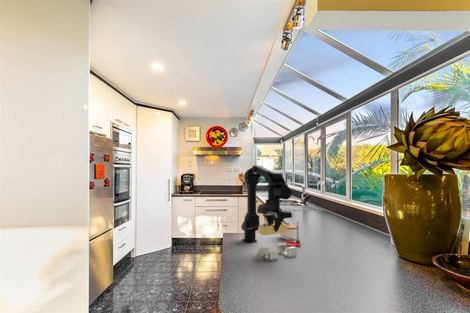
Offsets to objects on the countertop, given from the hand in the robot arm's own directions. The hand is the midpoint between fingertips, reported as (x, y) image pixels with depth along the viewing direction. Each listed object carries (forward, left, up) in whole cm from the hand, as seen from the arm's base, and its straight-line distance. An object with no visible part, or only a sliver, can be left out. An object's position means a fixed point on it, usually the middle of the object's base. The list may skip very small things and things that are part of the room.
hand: (273, 230), depth 112 cm
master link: (0, 0, -1) cm, 1 cm away
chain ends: (+2, +2, -11) cm, 12 cm away
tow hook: (-9, +23, -12) cm, 27 cm away
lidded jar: (-19, +31, -12) cm, 38 cm away
